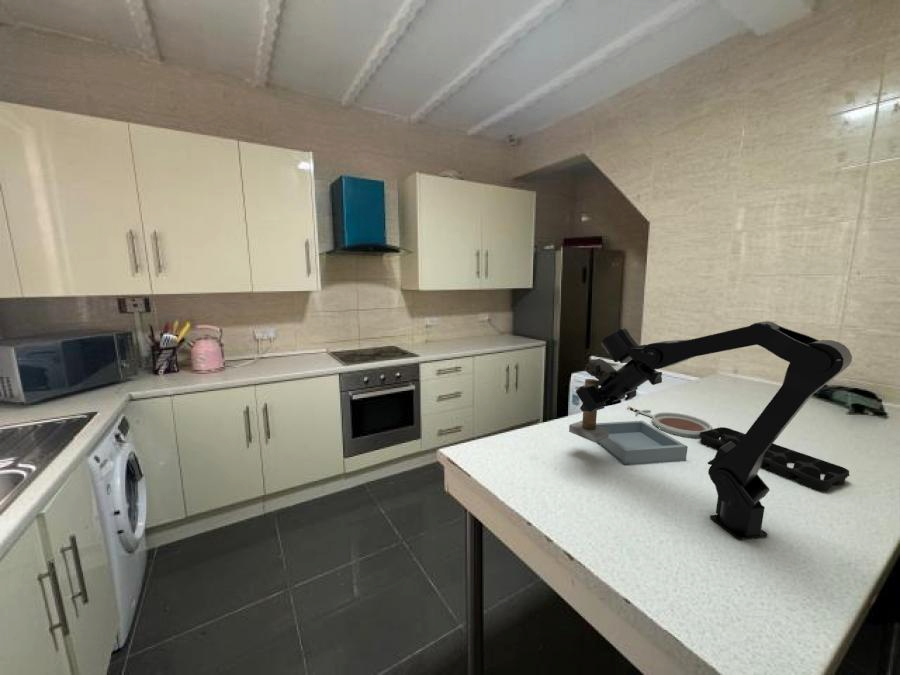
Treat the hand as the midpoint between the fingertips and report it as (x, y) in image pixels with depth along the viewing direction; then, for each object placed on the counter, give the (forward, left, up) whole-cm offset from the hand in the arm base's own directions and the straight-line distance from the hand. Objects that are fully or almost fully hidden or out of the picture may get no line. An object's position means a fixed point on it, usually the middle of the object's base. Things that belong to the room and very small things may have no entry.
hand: (585, 408), depth 97 cm
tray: (+2, -17, -13) cm, 22 cm away
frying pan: (+18, -40, -14) cm, 46 cm away
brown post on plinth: (-1, -1, -7) cm, 7 cm away
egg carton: (-10, -47, -14) cm, 50 cm away
